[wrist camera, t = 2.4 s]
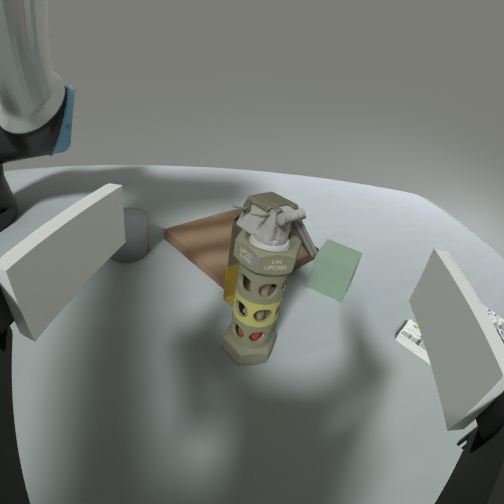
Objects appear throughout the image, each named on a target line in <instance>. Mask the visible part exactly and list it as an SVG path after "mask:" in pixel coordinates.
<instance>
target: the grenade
mask: <svg viewBox="0 0 504 504" xmlns="http://www.w3.org/2000/svg"><path fill="white" fill-rule="evenodd" d="M232 207H234V208H239V209H242V210H241V212H240V213H239V214H238V216H236V217H235V218H233V222H232V230H231V238H230V246H229V255H228V263H227V271H226V280H225V289H224V300H225V301H227V302H228V303H229V304H230V305H231V306H233V305H234V306H233V313H232V322H231V324H230V326H229V327H228V329H227V331H226V333H225V335H224V337H223V342H222V347H223V349H224V350H225V351H226V352H227V354H228V355H229V356H230V357H231V358H232V359H233V360H234V361H236V362H237V363H238V364H244V365H254V364H259V363H264V362H266V361H267V359H268V356H269V354H270V351H271V348H272V346H273V343H274V340H275V336H276V335H275V334H274V333H273V326H274V325H275V322H276V319H277V315H278V312H279V304H280V303H281V301H282V297H283V293H284V290H285V283H286V279H287V277H288V275H289V273H292V271H293V268H294V266H295V263H296V261H297V258H298V255H299V251H300V247H301V245H302V247H303V248H304V249H305V251H306V252H307V253H308V255H309V256H310V257H311V258H313V257H314V255H315V256H316V255H317V250H316V248H315V246H314V244H313V242H312V240H311V238H310V236H309V234H308V232H307V230H306V228H305V226H304V224H303V222H302V220H303V219H305V218H306V216H305V211H304V210H303V209H298V205H297V204H295V203H293V202H291V201H289V200H287V199H285V198H283V197H282V196H280V195H278V194H276V193H274V192H268V193H262V194H257V195H251V196H249V197H248V198H247V200H246V202H245V204H244V206H243V208H241V207H237V206H232ZM290 230H291V231H290ZM249 284H250V289H249V291H247V290H246V289H247V286H248V285H249ZM271 286H272V287H274V289H275V291H274V292H273V293H272V294H271V295H269V294H270V290H271ZM244 307H246V311H245V313H243V309H244ZM266 310H269V312H270V313H269V315H268V316H267V317H266V318H265V317H264V315H265V311H266Z"/></svg>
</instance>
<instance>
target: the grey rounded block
mask: <svg viewBox="0 0 504 504" xmlns="http://www.w3.org/2000/svg"><path fill="white" fill-rule="evenodd" d="M123 210H124V226H125V240H126V242H125V243H124V244H123V245H122V246H121V247H120V248H119V249H118V250H117V251H116V252H115V253H114V254H113V255H112V256H111V257H110V258H111V259H112V260H114V261H117V262H122V263H129V262H135V261H138V260H140V259H142V258H144V257H145V256H146V255H147V254H148V252H149V237H148V215H147V213H146V212H144V211H142V210H140V209H135V208H123Z"/></svg>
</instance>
